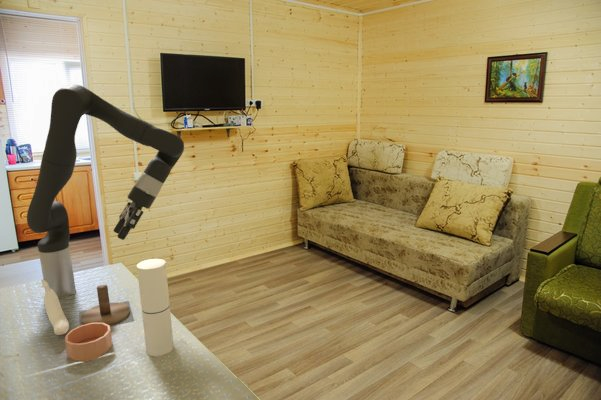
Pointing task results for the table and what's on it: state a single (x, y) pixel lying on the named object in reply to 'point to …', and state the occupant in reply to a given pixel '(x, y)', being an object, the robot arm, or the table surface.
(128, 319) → the rubber mat
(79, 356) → the terracotta bowl
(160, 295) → the cylindrical container
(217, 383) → the table surface
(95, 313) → the walnut lid
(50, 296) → the banana
